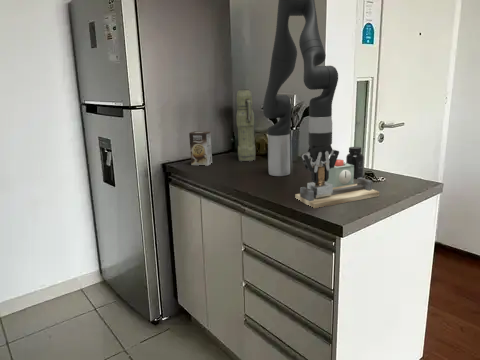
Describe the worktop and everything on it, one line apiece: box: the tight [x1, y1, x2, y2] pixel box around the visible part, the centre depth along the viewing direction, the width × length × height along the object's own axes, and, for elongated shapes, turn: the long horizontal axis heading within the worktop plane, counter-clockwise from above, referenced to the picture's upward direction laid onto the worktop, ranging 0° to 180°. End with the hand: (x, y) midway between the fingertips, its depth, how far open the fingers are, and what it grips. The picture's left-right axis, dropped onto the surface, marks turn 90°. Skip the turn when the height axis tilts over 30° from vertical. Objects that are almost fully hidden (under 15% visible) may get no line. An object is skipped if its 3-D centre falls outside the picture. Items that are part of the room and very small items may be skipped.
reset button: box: [335, 158, 344, 167], centre depth 146 cm, size 4×4×4 cm
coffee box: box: [188, 130, 213, 167], centre depth 191 cm, size 9×6×16 cm
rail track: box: [294, 177, 380, 209], centre depth 134 cm, size 12×26×5 cm, turn 112°
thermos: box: [235, 88, 257, 162], centre depth 194 cm, size 9×12×35 cm
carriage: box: [306, 164, 333, 198], centre depth 130 cm, size 6×6×10 cm
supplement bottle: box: [345, 146, 365, 179], centre depth 157 cm, size 7×7×12 cm
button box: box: [326, 161, 355, 188], centre depth 147 cm, size 8×8×8 cm
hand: (319, 181), depth 130 cm, fingers closed on carriage, 3 cm apart
